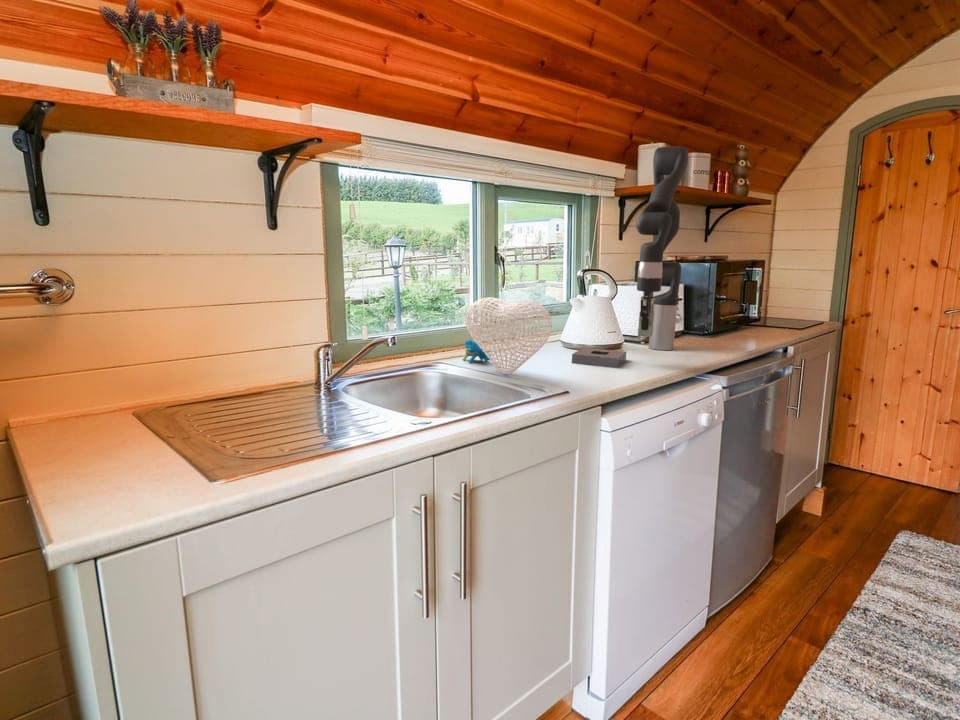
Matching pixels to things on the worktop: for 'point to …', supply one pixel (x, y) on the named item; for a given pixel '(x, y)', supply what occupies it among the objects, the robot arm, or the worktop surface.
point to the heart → (508, 330)
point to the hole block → (599, 357)
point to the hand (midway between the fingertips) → (645, 328)
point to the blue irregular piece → (474, 351)
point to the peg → (650, 327)
